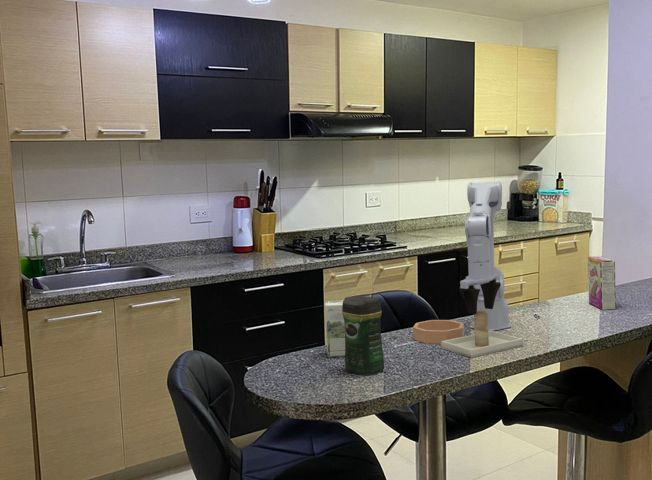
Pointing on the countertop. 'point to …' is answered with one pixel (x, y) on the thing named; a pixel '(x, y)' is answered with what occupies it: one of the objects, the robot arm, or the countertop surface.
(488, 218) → the robot arm
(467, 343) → the cream tray
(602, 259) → the candy bar box
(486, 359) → the countertop surface
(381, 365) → the coffee jar
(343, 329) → the syrup box
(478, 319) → the wooden pin
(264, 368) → the countertop surface
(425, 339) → the octagonal open frame
